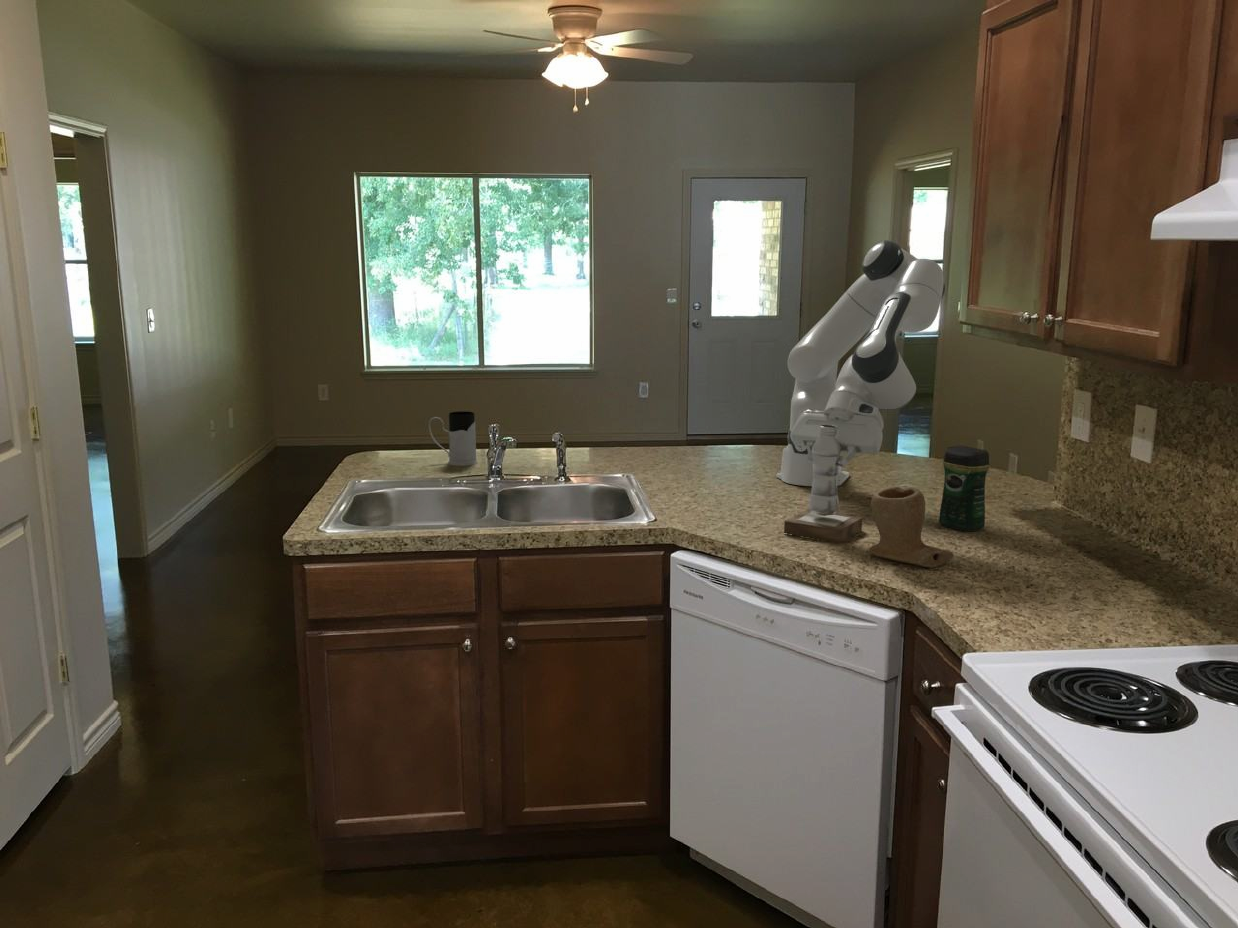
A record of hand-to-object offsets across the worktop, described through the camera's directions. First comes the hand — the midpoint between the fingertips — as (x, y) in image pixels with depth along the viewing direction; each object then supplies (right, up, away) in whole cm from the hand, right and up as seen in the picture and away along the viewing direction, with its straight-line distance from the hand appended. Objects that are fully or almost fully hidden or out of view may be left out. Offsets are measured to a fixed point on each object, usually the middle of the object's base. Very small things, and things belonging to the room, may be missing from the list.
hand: (825, 463), depth 214 cm
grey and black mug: (-95, 0, +77) cm, 122 cm away
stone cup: (+12, -20, -17) cm, 29 cm away
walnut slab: (0, -15, +4) cm, 16 cm away
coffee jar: (+33, -15, +9) cm, 37 cm away
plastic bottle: (0, -12, +3) cm, 12 cm away
